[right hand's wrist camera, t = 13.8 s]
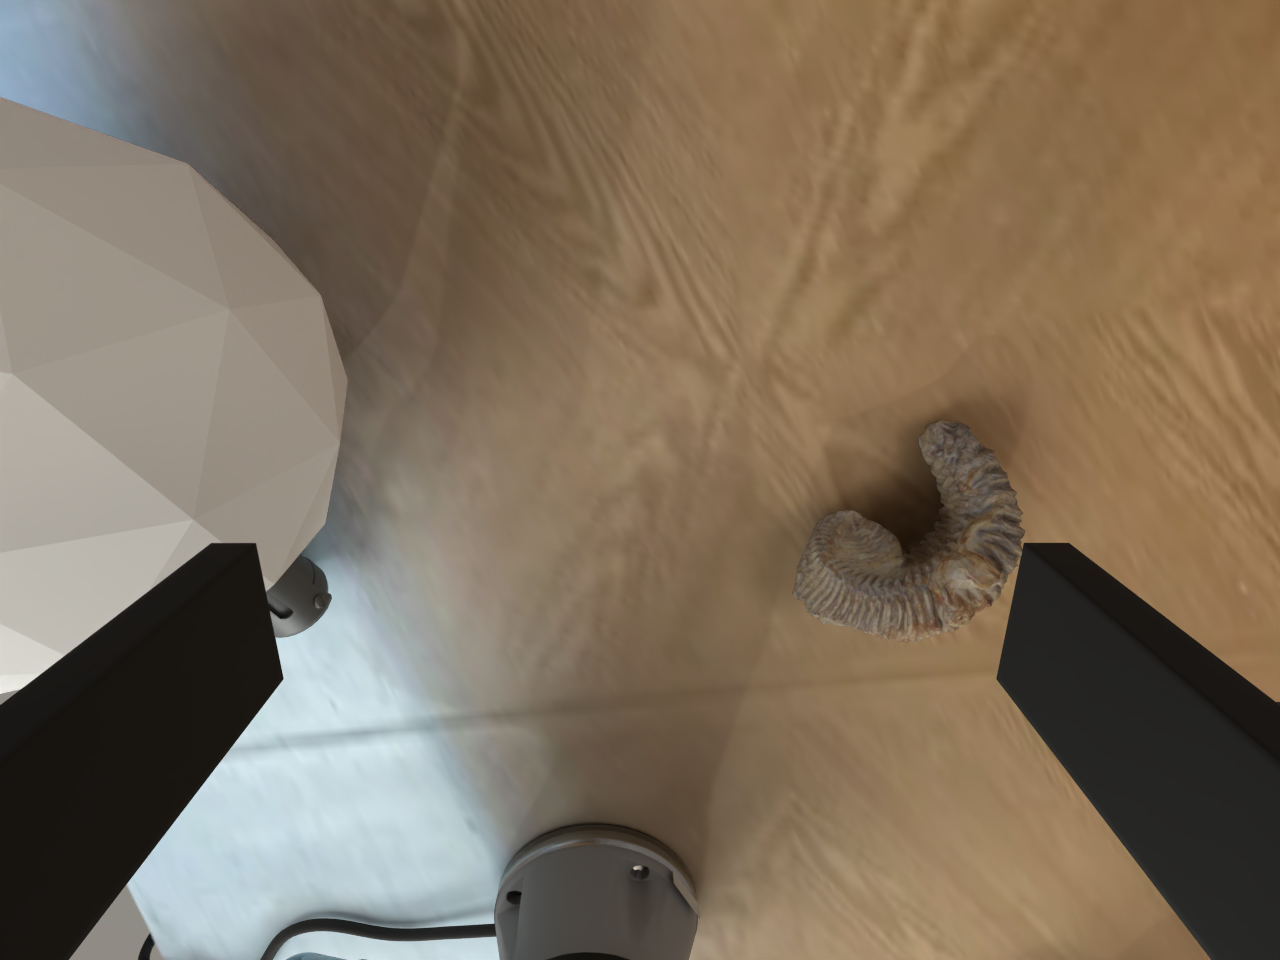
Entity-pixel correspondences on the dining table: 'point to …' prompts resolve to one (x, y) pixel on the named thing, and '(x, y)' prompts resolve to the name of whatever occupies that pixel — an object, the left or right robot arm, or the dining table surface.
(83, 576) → the sphere
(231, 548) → the right robot arm
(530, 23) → the dining table surface
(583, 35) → the dining table surface
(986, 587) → the seashell
